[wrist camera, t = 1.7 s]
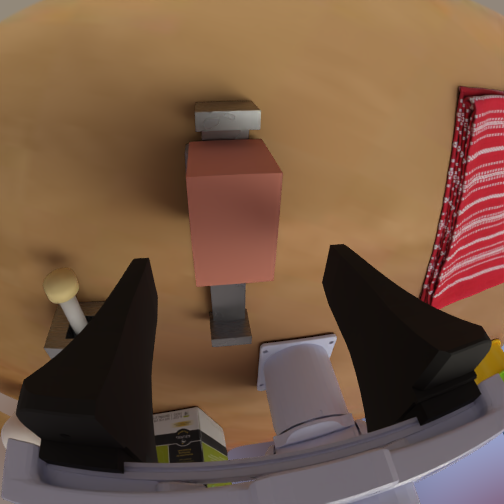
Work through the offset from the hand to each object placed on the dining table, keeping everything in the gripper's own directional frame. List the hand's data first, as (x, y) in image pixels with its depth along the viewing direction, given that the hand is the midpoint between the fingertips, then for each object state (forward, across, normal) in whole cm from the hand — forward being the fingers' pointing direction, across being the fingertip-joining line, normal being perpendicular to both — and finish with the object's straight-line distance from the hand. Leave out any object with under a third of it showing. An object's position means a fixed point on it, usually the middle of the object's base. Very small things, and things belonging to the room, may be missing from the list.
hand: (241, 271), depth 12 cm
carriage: (+9, 0, 0) cm, 9 cm away
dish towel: (+10, -27, +2) cm, 29 cm away
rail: (+9, 0, +4) cm, 10 cm away
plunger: (+7, +12, +8) cm, 16 cm away
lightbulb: (+9, +28, +27) cm, 40 cm away
